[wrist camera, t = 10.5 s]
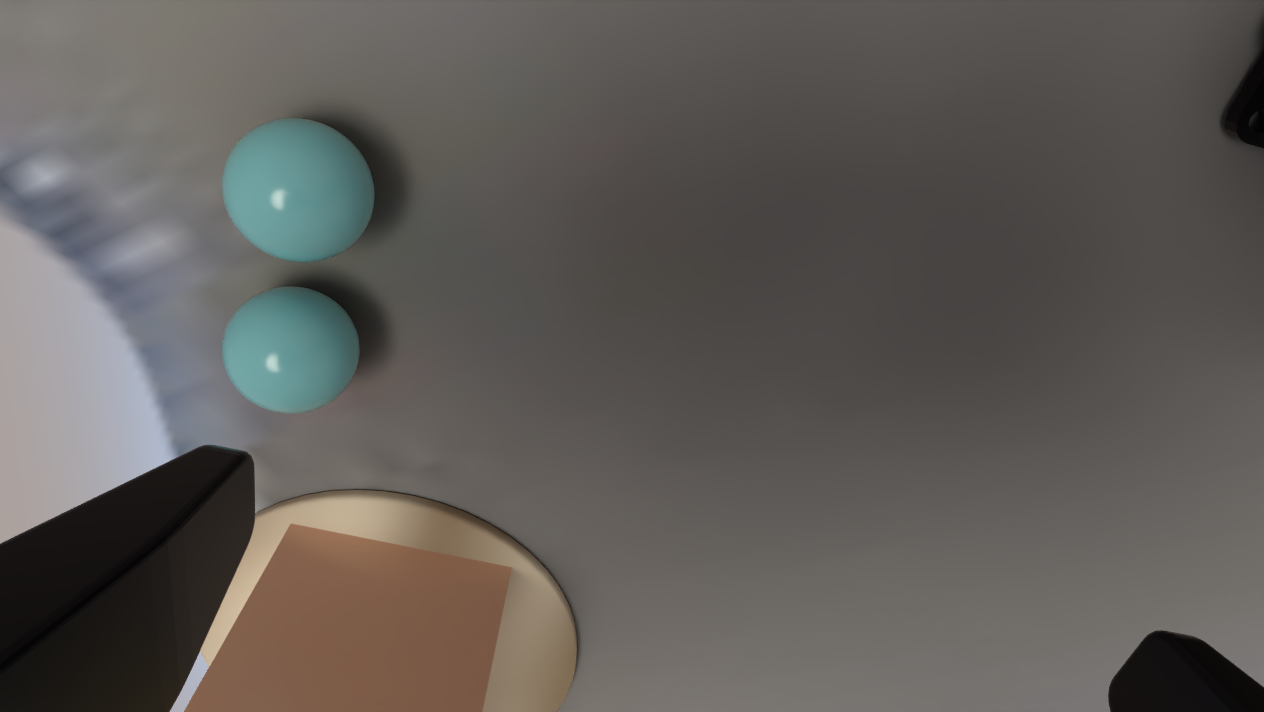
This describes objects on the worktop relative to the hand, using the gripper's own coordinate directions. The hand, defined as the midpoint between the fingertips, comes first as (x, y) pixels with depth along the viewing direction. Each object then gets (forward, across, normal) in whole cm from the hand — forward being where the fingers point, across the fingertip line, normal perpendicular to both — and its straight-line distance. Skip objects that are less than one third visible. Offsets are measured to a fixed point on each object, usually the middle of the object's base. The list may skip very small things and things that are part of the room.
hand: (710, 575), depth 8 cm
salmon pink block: (+12, +5, +17) cm, 21 cm away
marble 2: (+12, +8, +6) cm, 16 cm away
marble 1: (+12, +8, +2) cm, 15 cm away
